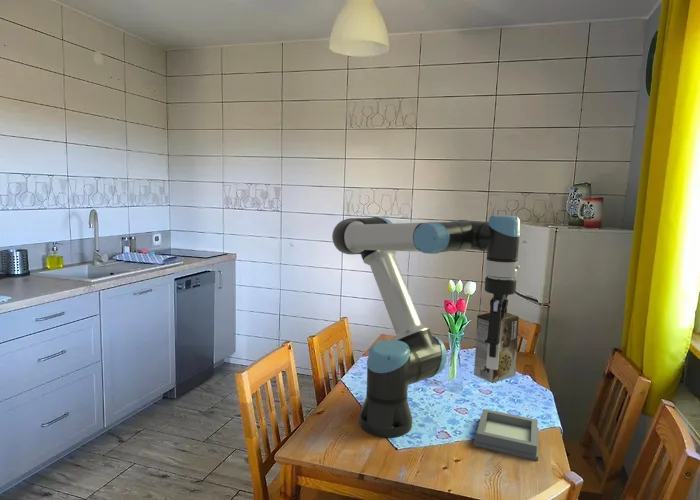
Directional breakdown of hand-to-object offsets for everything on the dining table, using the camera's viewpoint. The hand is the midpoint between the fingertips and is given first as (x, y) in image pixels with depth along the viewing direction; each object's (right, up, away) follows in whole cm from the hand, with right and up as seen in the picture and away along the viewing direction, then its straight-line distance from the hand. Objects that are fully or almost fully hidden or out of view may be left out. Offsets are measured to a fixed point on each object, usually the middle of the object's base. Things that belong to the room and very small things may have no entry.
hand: (495, 361), depth 121 cm
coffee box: (0, -4, +1) cm, 4 cm away
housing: (+6, -23, +9) cm, 26 cm away
